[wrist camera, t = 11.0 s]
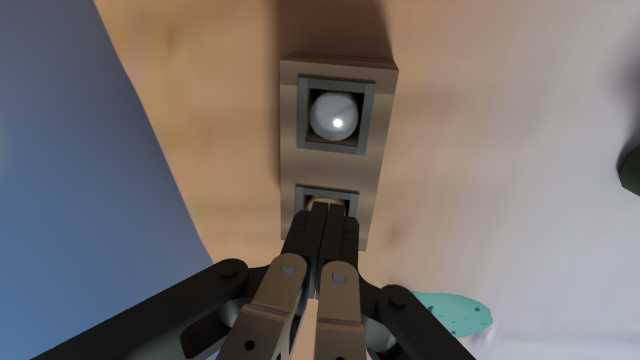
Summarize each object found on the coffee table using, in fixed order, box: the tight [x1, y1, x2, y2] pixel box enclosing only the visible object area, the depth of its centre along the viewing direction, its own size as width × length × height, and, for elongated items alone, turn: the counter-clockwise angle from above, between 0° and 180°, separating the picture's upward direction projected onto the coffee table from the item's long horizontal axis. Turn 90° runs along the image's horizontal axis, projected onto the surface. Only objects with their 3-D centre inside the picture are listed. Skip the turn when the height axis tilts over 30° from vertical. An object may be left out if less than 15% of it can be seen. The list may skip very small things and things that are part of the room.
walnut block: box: [280, 51, 399, 251], centre depth 32 cm, size 20×10×6 cm, turn 177°
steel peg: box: [310, 89, 359, 141], centre depth 29 cm, size 4×4×6 cm
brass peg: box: [306, 195, 347, 216], centre depth 35 cm, size 4×4×6 cm
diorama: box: [410, 291, 493, 338], centre depth 44 cm, size 12×20×9 cm, turn 91°
